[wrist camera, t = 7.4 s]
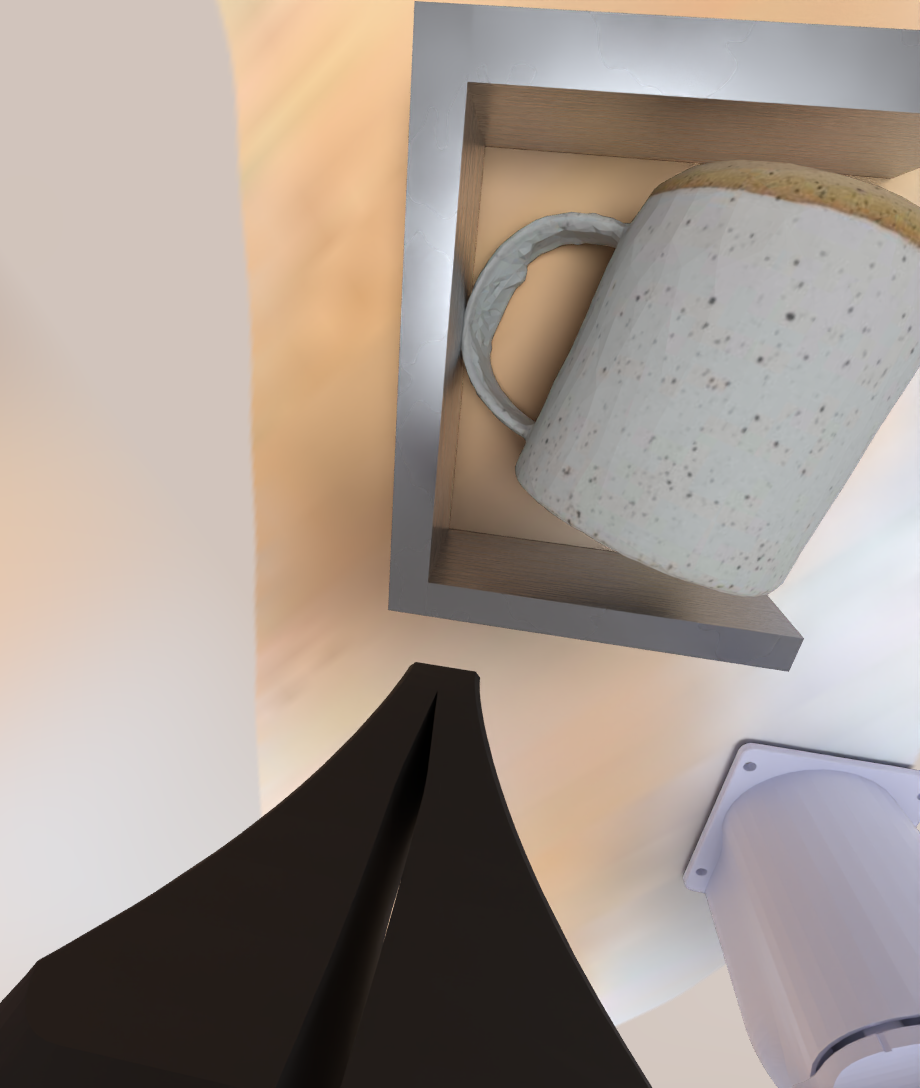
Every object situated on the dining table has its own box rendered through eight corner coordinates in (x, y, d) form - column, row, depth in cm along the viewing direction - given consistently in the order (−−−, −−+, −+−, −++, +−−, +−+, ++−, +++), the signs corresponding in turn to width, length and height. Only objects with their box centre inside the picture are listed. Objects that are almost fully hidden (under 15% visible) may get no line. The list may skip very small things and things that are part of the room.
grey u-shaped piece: (735, 598, 19) (788, 671, 15) (416, 552, 20) (388, 610, 16) (912, 122, 13) (1075, 39, 9) (447, 90, 14) (414, 1, 10)
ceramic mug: (862, 280, 15) (1145, 243, 8) (715, 524, 18) (822, 649, 11) (519, 155, 15) (499, 9, 8) (437, 423, 18) (373, 486, 11)
